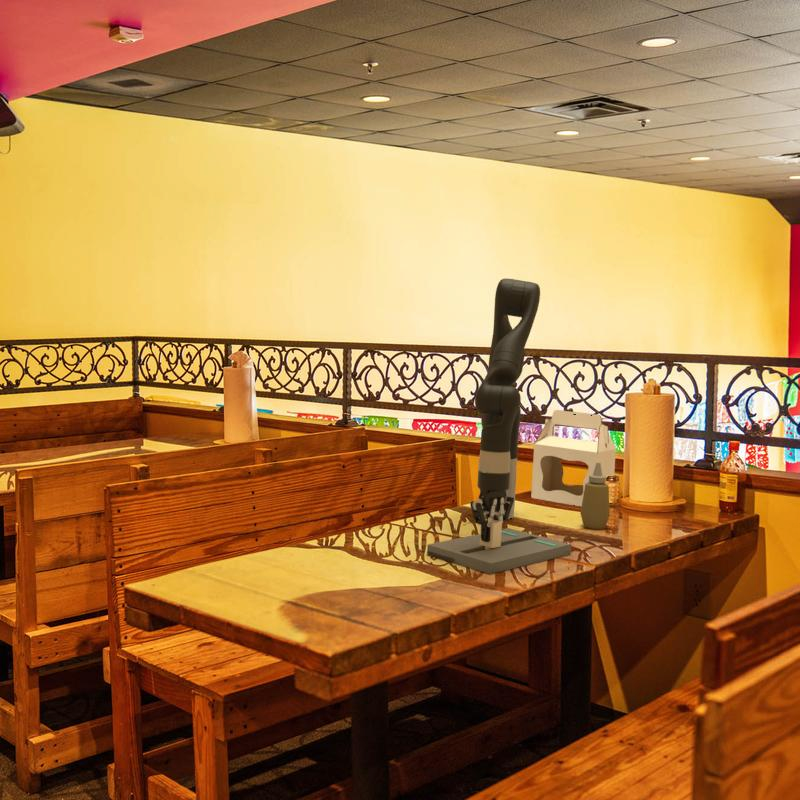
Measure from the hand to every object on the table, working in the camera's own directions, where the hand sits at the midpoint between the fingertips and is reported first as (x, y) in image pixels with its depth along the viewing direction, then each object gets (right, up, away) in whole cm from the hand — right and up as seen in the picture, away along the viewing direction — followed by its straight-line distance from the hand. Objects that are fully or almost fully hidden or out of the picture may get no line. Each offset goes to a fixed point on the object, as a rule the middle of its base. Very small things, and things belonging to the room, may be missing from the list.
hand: (490, 540), depth 233 cm
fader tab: (0, -3, 0) cm, 3 cm away
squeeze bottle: (+32, -2, +37) cm, 49 cm away
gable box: (+32, +2, +73) cm, 80 cm away
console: (+3, -4, +3) cm, 6 cm away
